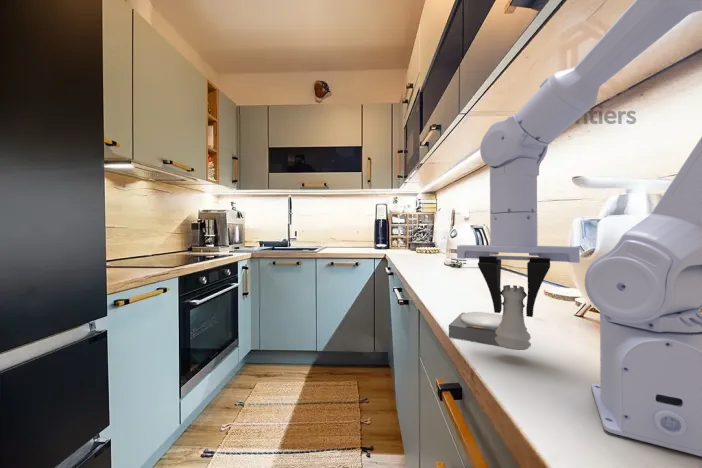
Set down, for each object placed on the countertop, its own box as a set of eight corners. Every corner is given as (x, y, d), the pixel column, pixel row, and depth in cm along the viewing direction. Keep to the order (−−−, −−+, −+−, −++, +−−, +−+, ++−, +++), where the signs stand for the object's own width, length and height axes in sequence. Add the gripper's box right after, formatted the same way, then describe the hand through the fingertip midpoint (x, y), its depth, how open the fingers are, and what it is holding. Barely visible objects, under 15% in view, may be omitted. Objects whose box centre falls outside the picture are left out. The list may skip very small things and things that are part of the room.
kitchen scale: (516, 348, 47) (516, 330, 47) (448, 337, 52) (448, 320, 52) (520, 331, 55) (520, 315, 55) (462, 322, 60) (462, 308, 60)
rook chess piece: (521, 339, 45) (522, 284, 44) (538, 351, 40) (539, 290, 40) (489, 338, 45) (490, 283, 45) (502, 350, 40) (504, 289, 40)
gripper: (575, 213, 42) (576, 313, 42) (464, 217, 50) (464, 302, 50) (580, 209, 36) (581, 327, 36) (453, 214, 44) (453, 311, 44)
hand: (513, 313), depth 42 cm, fingers closed on rook chess piece, 3 cm apart
